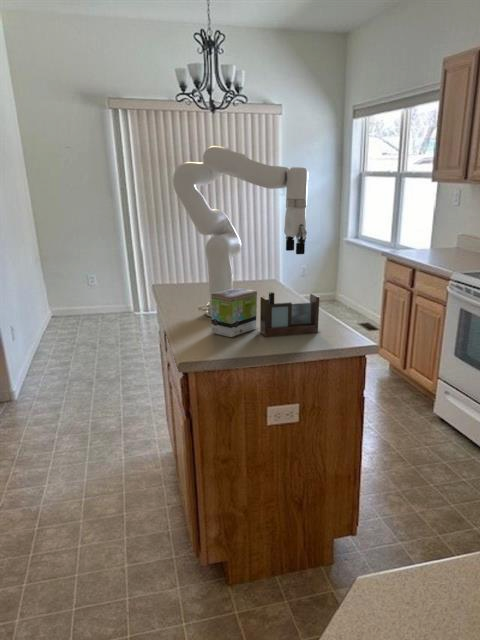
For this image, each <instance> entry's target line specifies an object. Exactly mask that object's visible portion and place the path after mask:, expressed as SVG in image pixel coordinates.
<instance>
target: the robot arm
mask: <svg viewBox="0 0 480 640" xmlns="http://www.w3.org/2000/svg"><path fill="white" fill-rule="evenodd" d="M202 160H203V161H200V162H197V161H194V162H193V161H185V162H183V163H180V164H179V165H178V166H177V167H176V168H175V171H174V173H173V178H172V184H173V189H174V192H175V193H176V196H177V198H178V199H179V201H180V202H181V204H182V205H183V207H184V209H185V211H186V212H187V214H188V216H189V218H190V220H191V221H192V223H193V225H194V227H195V228H196V230H197V232H198V234H200V235H203V236H212V237H210V238H209V239H207V242H206V243H205V255H206V256H205V257H206V261H207V270H208V271H207V272H208V273H207V274H208V297H209V298H208V299H209V302H207V304H205V305H198V306H197V311H202V312H205V315H206V316H207V317H210V318H212V293H216V292H221V291H225V290H229V289H233V288H234V284H233V283H234V282H233V281H234V280H233V279H234V278H233V277H234V276H233V266H232V263H231V258H234V257H236V256H238V255H239V254H240V252H241V250H242V242H241V239H240V236H239V235H238V232H237V231H236V229H235V227H234V226H233V223H231V220H230V219H229V217H228V216H227V214H226V213H225V212H224V211H223V210H221V209H218V208H211V207H210V205H209V203H208V202H207V200H206V198H205V196H204V195H203V194H202V193H201V192H200V190H199V189H197V187H203V186H207V185H210V184H212V183H213V182H215V181H216V180H217V179H219V178H221V177H222V176H224V175H227V176H229V177H233V178H236V179H239V180H242V181H244V182H246V183H249V184H252V185H254V186H258V187H262V188H264V189H270V190H275V189H276V190H277V189H285V192H286V193H285V194H286V195H285V215H284V228H283V232H284V235H285V251H287V252H288V251H289V252H291V251H295V254H296V255H305V251H306V250H305V248H306V239H307V233H308V232H307V213H306V211H307V210H306V209H307V207H308V183H309V182H308V180H309V171H308V169H307V168H306V167H300V166H299V167H298V166H293V167H292V166H291V167H286V166H281V165H279V166H278V165H270V164H265V163H261V162H258V161H256V160H253V159H251V158H249V156H248V155H247V154H245V153H242V152H239V151H234V150H232V149H230V148H229V147H226V146H219V145H212V146H209V147H207V148H206V149H205V150H204V152H203V155H202ZM295 239H296V241H297V242H296V243H295Z"/></svg>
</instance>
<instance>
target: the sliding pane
mask: <svg viewBox="0 0 480 640" xmlns="http://www.w3.org/2000/svg"><path fill="white" fill-rule="evenodd" d="M268 300H269V324H268V328H277V327H291V319H292V303H293V302H289V301H288V302H275V292H273V291H269V292H268Z"/></svg>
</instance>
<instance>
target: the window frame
mask: <svg viewBox="0 0 480 640" xmlns="http://www.w3.org/2000/svg"><path fill="white" fill-rule="evenodd" d="M259 301H260V304H259V305H260V306H259V307H260V308H259V309H260V310H259V313H260V317H259V319H260V320H259V321H260V325H259V326H260V328H259V329H260V331H259V332H260V334H262V336H264V338H267V337H278V336H279V337H281V336H292V335H293V336H294V335H304V334H305V335H306V334H318V333H319V316H320V315H319V314H320V296H319V295H317V294H315V293H313V292H312V293H310V294H309V302H294V303H293V302H291V303H292V319H291V327H277V328H268V324H269V298H267V297H266V296H265V295H260V300H259Z"/></svg>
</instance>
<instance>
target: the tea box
mask: <svg viewBox="0 0 480 640" xmlns="http://www.w3.org/2000/svg"><path fill="white" fill-rule="evenodd" d="M257 309H258V291H257V290H252V289H248V288H247V289H246V288H241V287H233V289H229V290H225V291H221V292H216V293H212V317H211V333H212V334H216V335H218V336H219V335H220V336H224V337H228V338H233V337H236V336H238V335H241V334H245V333H247V332H250V331H253V330H256V329H257V314H258V313H257V312H258V311H257Z"/></svg>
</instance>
